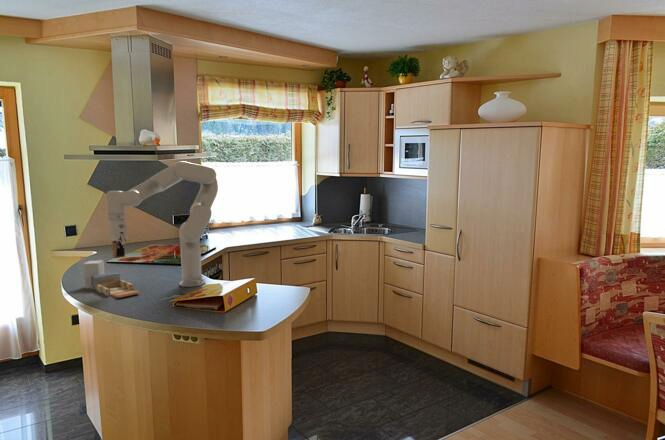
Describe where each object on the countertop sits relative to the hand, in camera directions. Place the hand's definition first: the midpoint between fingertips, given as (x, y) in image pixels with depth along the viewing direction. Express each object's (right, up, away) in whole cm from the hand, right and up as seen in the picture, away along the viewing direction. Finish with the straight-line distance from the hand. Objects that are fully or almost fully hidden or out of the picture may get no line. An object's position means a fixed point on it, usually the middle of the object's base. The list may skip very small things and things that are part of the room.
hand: (118, 255), depth 237 cm
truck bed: (-4, -18, +3) cm, 18 cm away
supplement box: (-17, -17, +13) cm, 28 cm away
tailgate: (+4, -18, -5) cm, 19 cm away
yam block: (0, -1, 0) cm, 1 cm away
